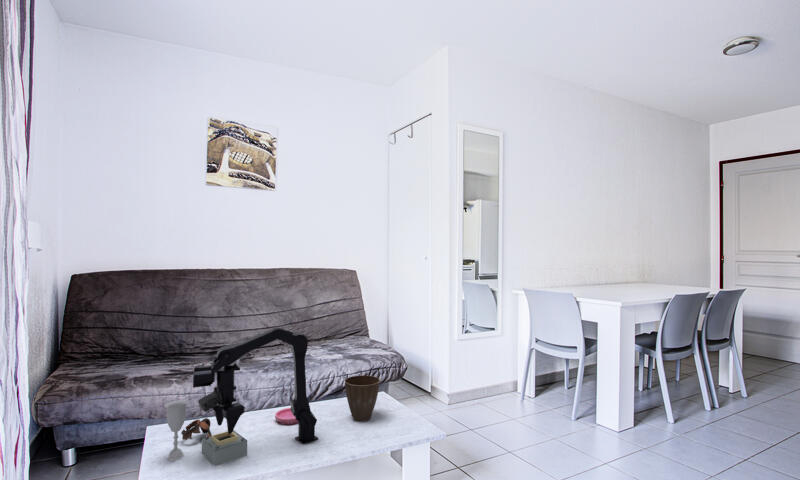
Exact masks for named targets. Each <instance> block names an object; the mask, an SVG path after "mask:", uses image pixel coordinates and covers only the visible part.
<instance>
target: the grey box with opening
mask: <svg viewBox="0 0 800 480" xmlns="http://www.w3.org/2000/svg"><path fill="white" fill-rule="evenodd" d="M211 435H212V434H211ZM201 454H202V455H203V457H205V458H206V459H207V460H208V461H209V462H210V463H211V464H212V465H213V466H214V467H216V466H218V465H222V464H224V463H228V462H230V461H233V460H236V459H240V458H242V457H246V456H248V440H247V438H245V437H244V436H242V435H241V434H240V433H239V432H237V431H236V430H233V432H232V433H230V434H229V433H228V430H226V431H223V432H219V433H216V434H213V435H212V436H210V437H206V436H205V437H203V438H201Z"/></svg>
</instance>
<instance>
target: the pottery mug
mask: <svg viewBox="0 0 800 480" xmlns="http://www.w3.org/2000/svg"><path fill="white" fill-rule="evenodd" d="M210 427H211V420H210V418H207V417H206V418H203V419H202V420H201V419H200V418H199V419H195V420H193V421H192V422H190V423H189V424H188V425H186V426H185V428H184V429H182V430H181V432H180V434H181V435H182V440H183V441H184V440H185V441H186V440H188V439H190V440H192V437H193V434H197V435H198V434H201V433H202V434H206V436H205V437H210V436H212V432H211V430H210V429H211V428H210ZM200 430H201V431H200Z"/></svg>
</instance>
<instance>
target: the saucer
mask: <svg viewBox="0 0 800 480" xmlns="http://www.w3.org/2000/svg"><path fill="white" fill-rule="evenodd" d="M290 408H291V407H287V408H282V409H280V410H278V411H276V412H275V414H274V417H275V419H276V420H277V421H278V422H279V423H280V424H283V425H295V424H297V423H298V424H299V421H297V420H296V418H295V416H293V414H292V412H291V410H290Z"/></svg>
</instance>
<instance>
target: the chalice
mask: <svg viewBox="0 0 800 480" xmlns="http://www.w3.org/2000/svg"><path fill="white" fill-rule="evenodd" d="M188 403H189V402H188V400H184V399H183V400H182V399H179V400H174V401H170V402H167V403H166V404H165V405H164V407H165V408H166V422H167V426H168V427H169V429H170V431H171V432H173V433H174V434H173V435H174V436H173V437H172V438H173V440H174V441H173V442H172V444H173V449H171V451H170V452H169V454H168V457H167V458H166V459H167V461H170V462H174V461H175V462H176V461H179V460H181V459H182V458H184V457H185V454H183V451H182V449H181V448H178V444H179V443H180V442H179V441H178V439H179V435H178V432H179V431H182V430H181V429H182V428H183V425H184V423H185V421H186V419H187V405H188Z"/></svg>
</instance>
